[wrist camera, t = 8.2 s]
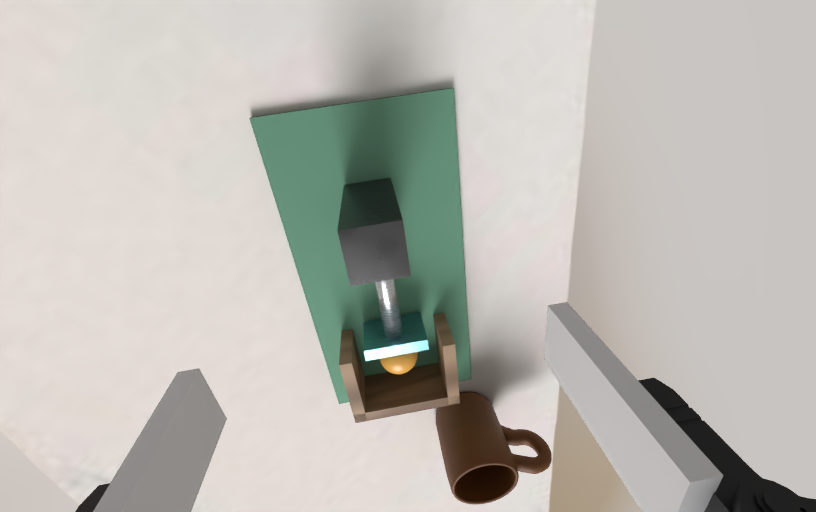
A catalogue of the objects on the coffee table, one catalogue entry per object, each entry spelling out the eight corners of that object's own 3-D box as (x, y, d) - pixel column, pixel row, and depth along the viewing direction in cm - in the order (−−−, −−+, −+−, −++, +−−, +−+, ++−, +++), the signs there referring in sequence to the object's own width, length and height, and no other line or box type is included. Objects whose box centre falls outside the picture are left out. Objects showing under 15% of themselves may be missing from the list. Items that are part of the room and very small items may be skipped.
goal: (341, 330, 37) (338, 365, 33) (444, 312, 38) (455, 344, 34) (356, 385, 41) (355, 423, 37) (449, 368, 42) (460, 403, 37)
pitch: (251, 117, 28) (249, 118, 27) (452, 88, 29) (453, 88, 28) (339, 400, 43) (339, 403, 42) (470, 376, 43) (471, 379, 43)
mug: (525, 378, 45) (563, 447, 37) (523, 418, 48) (557, 490, 40) (431, 395, 44) (448, 470, 36) (436, 435, 48) (452, 511, 39)
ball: (378, 368, 34) (383, 383, 37) (419, 361, 35) (421, 376, 38) (374, 331, 37) (379, 348, 40) (412, 324, 37) (415, 341, 40)
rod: (332, 186, 30) (320, 233, 21) (402, 175, 30) (419, 217, 22) (365, 330, 37) (367, 409, 29) (421, 320, 38) (440, 395, 29)
